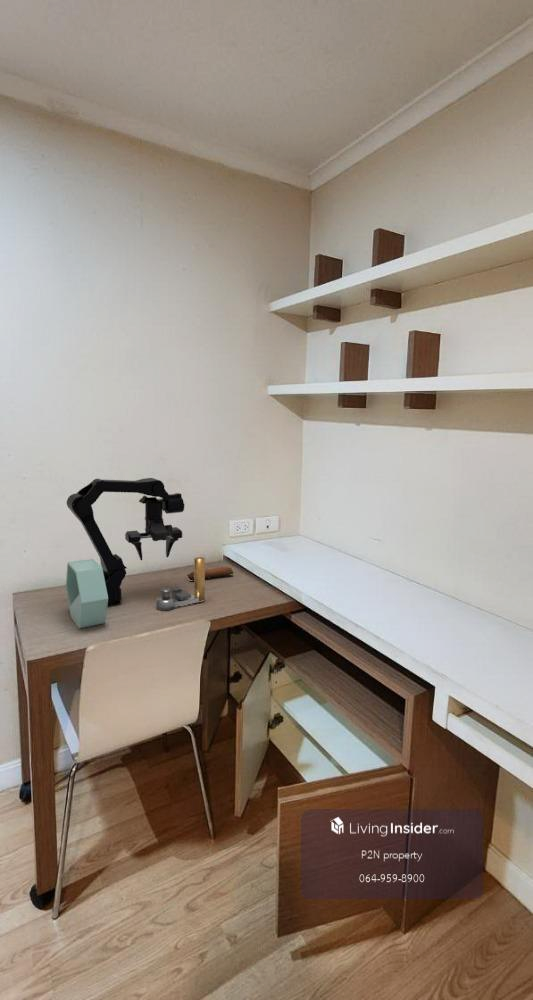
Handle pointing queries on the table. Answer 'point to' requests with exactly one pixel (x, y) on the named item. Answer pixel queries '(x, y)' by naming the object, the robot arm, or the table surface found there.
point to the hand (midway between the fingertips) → (154, 558)
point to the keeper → (180, 593)
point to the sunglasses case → (213, 572)
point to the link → (198, 588)
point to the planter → (86, 593)
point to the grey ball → (166, 593)
